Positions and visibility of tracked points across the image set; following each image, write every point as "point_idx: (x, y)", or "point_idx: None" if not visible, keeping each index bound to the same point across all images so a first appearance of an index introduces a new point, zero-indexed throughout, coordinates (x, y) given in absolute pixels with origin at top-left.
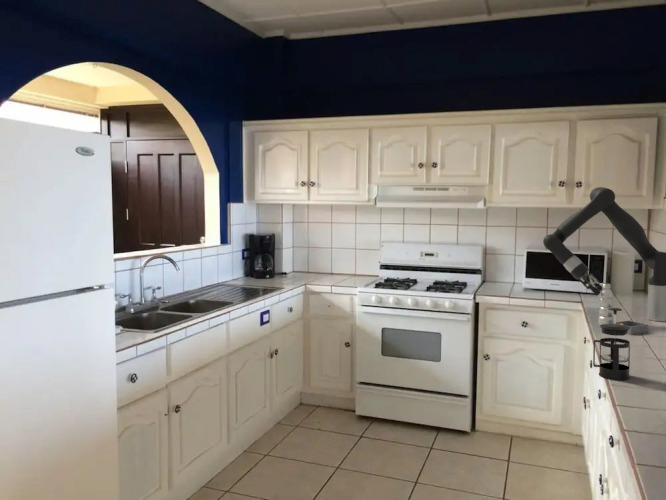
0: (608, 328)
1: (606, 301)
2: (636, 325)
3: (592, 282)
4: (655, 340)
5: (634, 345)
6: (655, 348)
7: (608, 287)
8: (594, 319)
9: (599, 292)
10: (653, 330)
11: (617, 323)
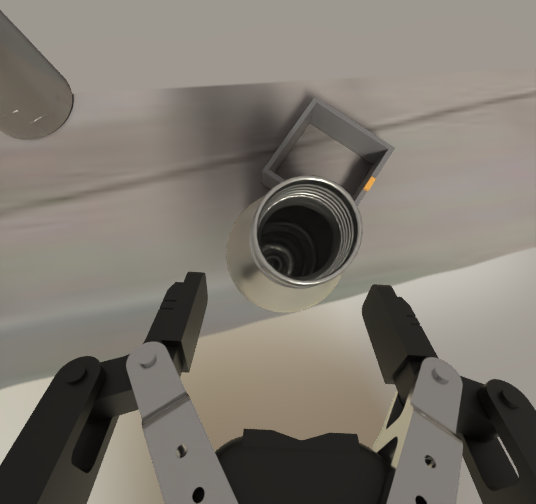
0: None
1: (328, 244)
2: (288, 145)
3: (430, 417)
4: (421, 87)
5: (529, 136)
6: (531, 80)
7: (339, 206)
8: (136, 337)
9: (389, 290)
10: (260, 104)
11: None
